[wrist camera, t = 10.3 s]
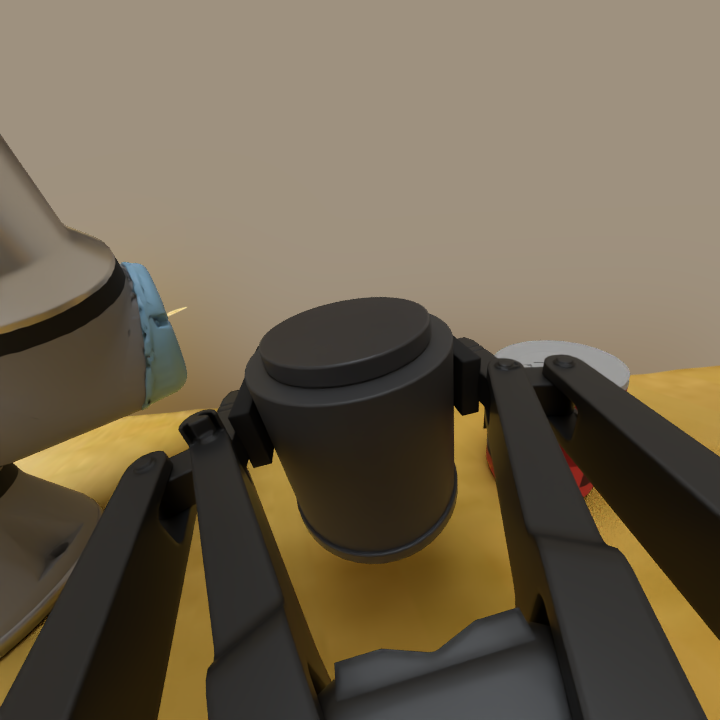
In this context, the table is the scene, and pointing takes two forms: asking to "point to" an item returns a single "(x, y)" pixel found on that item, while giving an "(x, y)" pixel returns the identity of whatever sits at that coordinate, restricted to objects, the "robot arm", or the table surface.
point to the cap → (362, 423)
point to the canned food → (597, 359)
